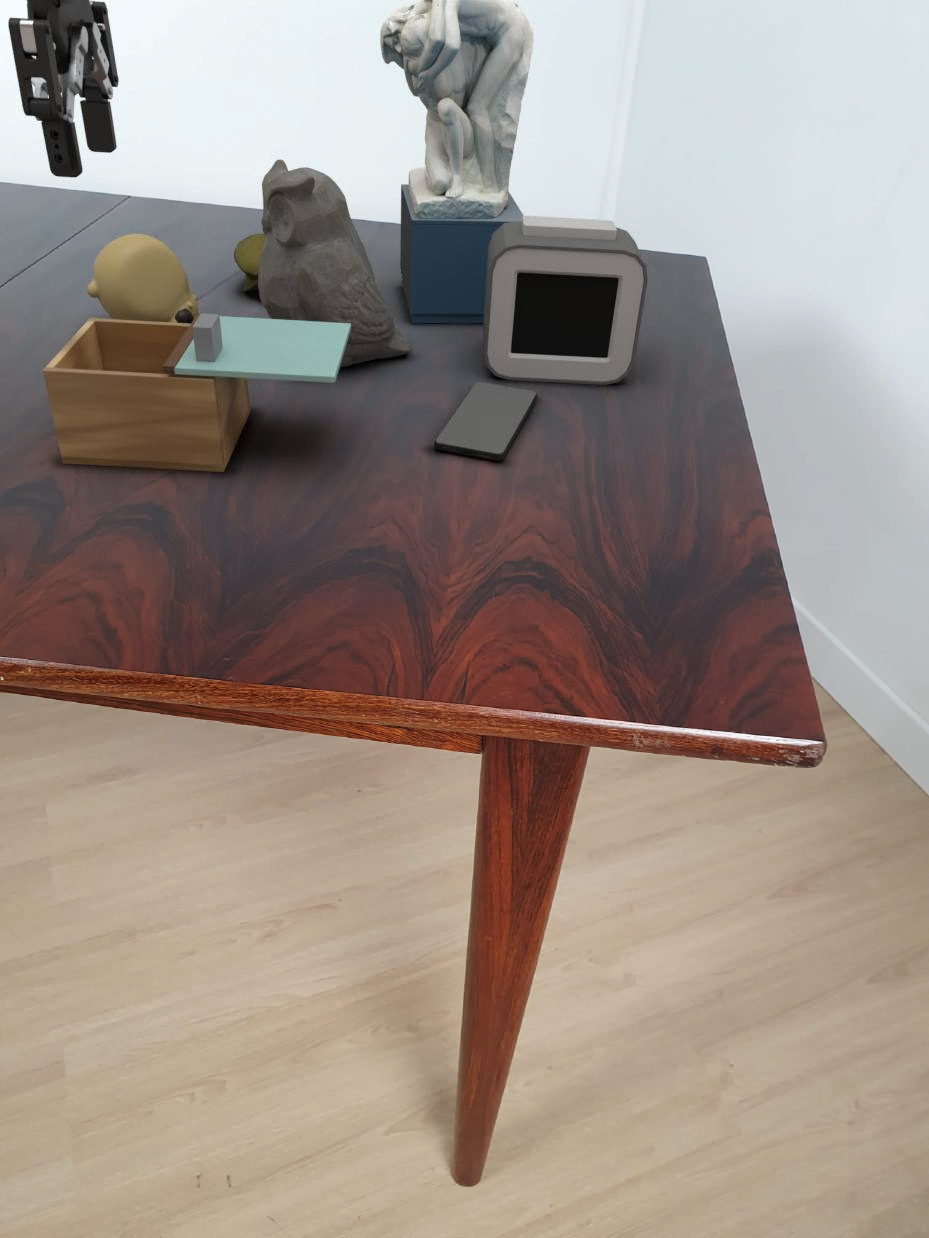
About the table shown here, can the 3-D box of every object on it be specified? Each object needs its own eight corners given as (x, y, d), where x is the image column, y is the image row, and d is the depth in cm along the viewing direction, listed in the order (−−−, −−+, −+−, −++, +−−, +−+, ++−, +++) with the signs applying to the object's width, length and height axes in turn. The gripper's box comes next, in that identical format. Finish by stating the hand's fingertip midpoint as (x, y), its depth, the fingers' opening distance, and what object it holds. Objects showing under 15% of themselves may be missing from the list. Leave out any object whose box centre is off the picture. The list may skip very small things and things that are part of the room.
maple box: (223, 472, 88) (213, 380, 83) (62, 463, 88) (42, 370, 82) (250, 412, 98) (242, 326, 92) (105, 404, 97) (89, 317, 92)
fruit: (207, 283, 127) (201, 230, 123) (284, 266, 134) (281, 216, 130) (256, 308, 121) (251, 254, 117) (334, 290, 127) (333, 238, 123)
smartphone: (432, 442, 93) (476, 380, 104) (432, 451, 93) (475, 388, 105) (502, 455, 91) (539, 391, 103) (502, 464, 92) (538, 399, 103)
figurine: (254, 337, 113) (239, 150, 101) (389, 327, 118) (389, 147, 106) (276, 387, 103) (262, 184, 91) (423, 373, 107) (428, 179, 95)
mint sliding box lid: (335, 383, 83) (333, 342, 80) (163, 373, 82) (157, 332, 80) (351, 329, 92) (350, 291, 90) (198, 320, 92) (194, 282, 90)
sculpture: (385, 324, 119) (385, -19, 97) (377, 280, 131) (376, -32, 110) (522, 324, 121) (552, -11, 100) (502, 281, 134) (524, -25, 112)
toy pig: (151, 375, 112) (215, 315, 109) (62, 297, 105) (128, 231, 102) (161, 339, 120) (222, 282, 116) (79, 265, 113) (141, 202, 109)
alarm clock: (482, 378, 107) (492, 231, 98) (481, 340, 116) (490, 202, 107) (630, 386, 108) (654, 240, 98) (618, 347, 117) (638, 210, 107)
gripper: (62, -83, 62) (105, 189, 72) (128, -89, 73) (157, 146, 83) (-57, -90, 62) (3, 183, 72) (27, -95, 73) (69, 141, 83)
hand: (86, 163), depth 77 cm, fingers open, 8 cm apart
